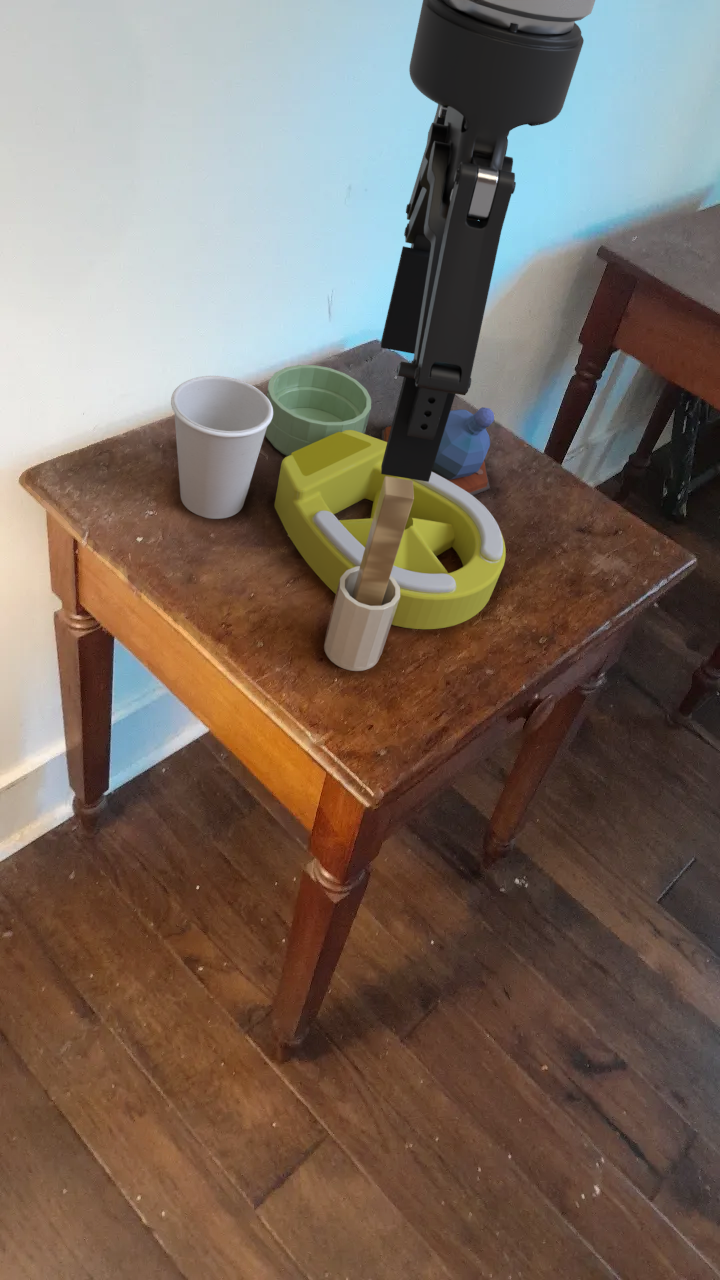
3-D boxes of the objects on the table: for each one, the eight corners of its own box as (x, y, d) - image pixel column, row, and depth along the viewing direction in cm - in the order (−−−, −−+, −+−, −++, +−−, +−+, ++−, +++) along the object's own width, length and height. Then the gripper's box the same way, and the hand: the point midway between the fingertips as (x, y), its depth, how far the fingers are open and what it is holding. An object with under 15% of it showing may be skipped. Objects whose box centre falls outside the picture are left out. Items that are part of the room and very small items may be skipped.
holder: (322, 667, 74) (339, 604, 69) (324, 624, 77) (340, 561, 72) (380, 675, 74) (400, 613, 69) (380, 632, 77) (399, 570, 72)
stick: (340, 652, 74) (385, 493, 63) (341, 634, 76) (384, 475, 64) (365, 656, 75) (414, 498, 63) (365, 638, 76) (413, 480, 65)
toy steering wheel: (365, 457, 94) (375, 414, 90) (528, 577, 86) (547, 536, 82) (241, 517, 84) (247, 472, 80) (413, 658, 76) (429, 616, 73)
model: (505, 484, 95) (535, 406, 89) (437, 508, 90) (464, 427, 84) (429, 418, 101) (453, 340, 94) (362, 437, 96) (382, 356, 89)
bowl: (257, 458, 90) (264, 413, 86) (265, 400, 97) (272, 356, 93) (360, 475, 91) (371, 432, 88) (361, 417, 98) (371, 375, 95)
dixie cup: (268, 483, 88) (283, 390, 81) (245, 539, 82) (259, 444, 75) (181, 459, 88) (188, 364, 80) (152, 513, 82) (157, 416, 75)
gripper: (639, 118, 34) (476, 551, 49) (552, -42, 51) (451, 316, 67) (438, 74, 33) (335, 529, 49) (418, -74, 50) (347, 296, 66)
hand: (402, 406), depth 58 cm, fingers open, 13 cm apart
